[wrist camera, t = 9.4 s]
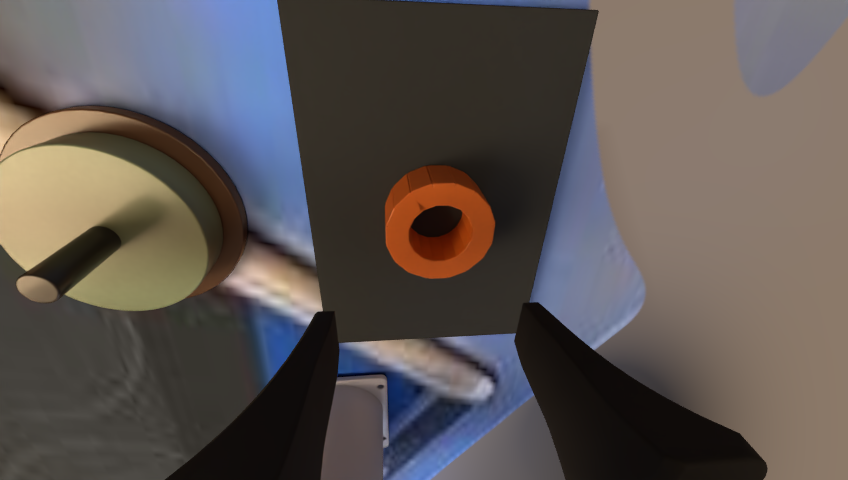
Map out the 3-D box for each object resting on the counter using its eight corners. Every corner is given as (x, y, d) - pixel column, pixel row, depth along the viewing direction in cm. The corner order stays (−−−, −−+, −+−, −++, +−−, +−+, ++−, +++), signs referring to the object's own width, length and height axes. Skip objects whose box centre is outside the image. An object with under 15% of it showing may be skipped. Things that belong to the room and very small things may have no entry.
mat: (519, 327, 27) (522, 333, 26) (328, 337, 25) (327, 343, 25) (592, 10, 16) (599, 10, 16) (279, -4, 15) (276, -5, 14)
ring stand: (265, 289, 22) (226, 376, 17) (74, 296, 21) (-36, 392, 16) (220, 107, 17) (139, 146, 11) (-42, 103, 16) (-279, 145, 10)
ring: (476, 252, 22) (487, 277, 20) (386, 254, 21) (386, 280, 19) (488, 164, 19) (502, 182, 17) (383, 165, 19) (384, 183, 16)
